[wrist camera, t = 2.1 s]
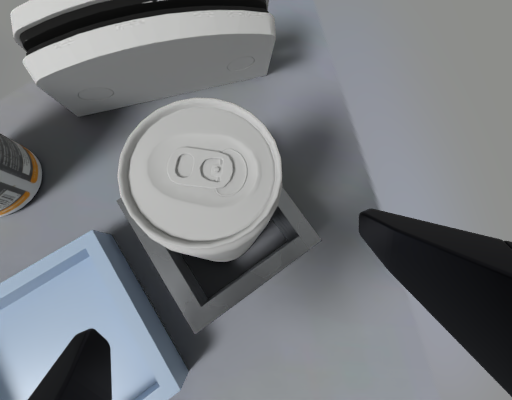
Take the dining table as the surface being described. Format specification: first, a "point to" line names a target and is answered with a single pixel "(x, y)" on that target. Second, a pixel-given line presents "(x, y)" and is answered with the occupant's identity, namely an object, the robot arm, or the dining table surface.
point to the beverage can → (201, 177)
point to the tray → (84, 322)
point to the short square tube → (207, 310)
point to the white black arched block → (140, 48)
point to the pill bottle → (17, 176)
